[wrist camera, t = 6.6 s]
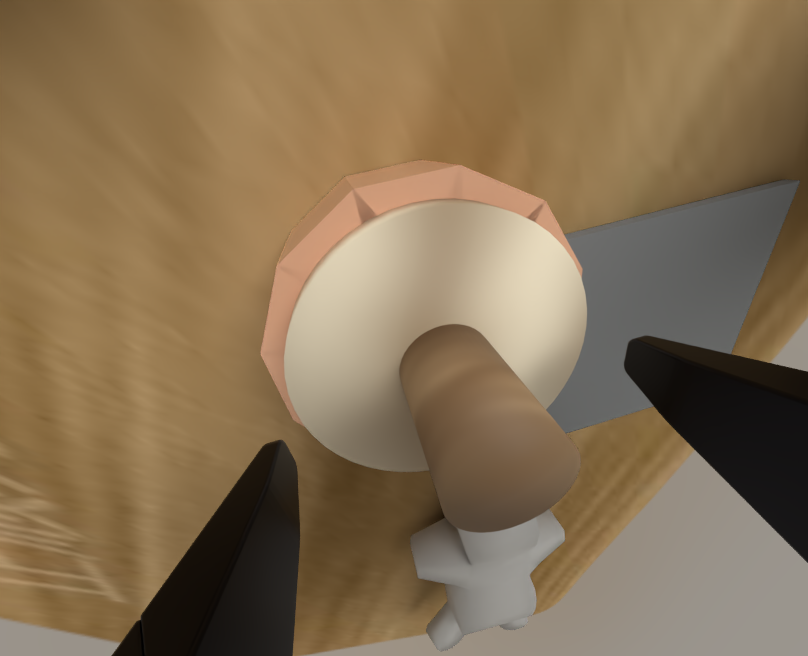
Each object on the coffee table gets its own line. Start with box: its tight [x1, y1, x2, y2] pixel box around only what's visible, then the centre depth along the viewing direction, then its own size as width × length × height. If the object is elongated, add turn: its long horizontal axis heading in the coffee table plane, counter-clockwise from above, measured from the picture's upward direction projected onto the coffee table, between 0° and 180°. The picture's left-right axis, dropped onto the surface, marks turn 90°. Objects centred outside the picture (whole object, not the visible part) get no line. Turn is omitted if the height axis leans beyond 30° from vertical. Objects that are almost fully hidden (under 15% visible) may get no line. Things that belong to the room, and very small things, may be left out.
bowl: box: [260, 160, 583, 427], centre depth 12 cm, size 10×10×4 cm
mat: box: [546, 179, 800, 433], centre depth 17 cm, size 12×12×1 cm
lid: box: [284, 198, 587, 533], centre depth 8 cm, size 9×9×5 cm
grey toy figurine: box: [410, 509, 565, 651], centre depth 22 cm, size 10×5×15 cm
